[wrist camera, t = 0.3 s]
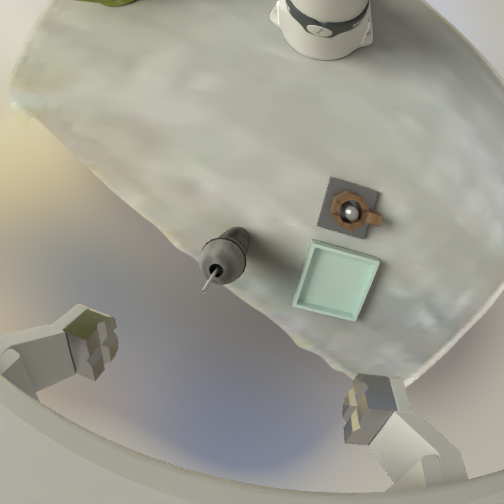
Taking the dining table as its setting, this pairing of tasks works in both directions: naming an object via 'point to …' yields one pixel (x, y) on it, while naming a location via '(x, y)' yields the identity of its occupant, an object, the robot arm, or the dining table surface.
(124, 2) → the plant pot
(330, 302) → the tray
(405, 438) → the robot arm
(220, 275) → the beverage cup
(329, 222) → the stake
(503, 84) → the dining table surface
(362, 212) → the ring
